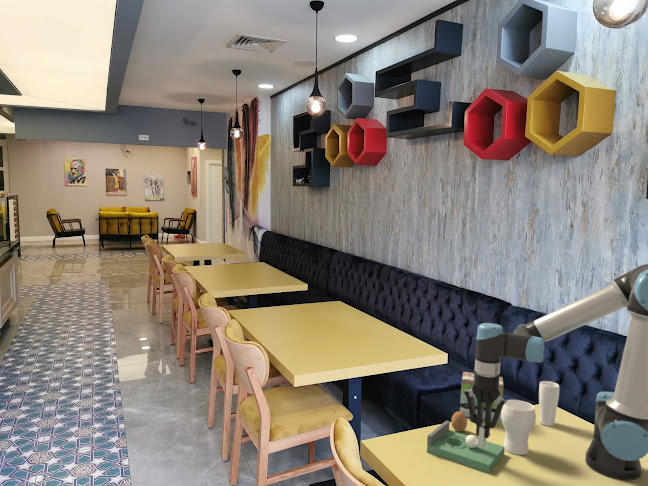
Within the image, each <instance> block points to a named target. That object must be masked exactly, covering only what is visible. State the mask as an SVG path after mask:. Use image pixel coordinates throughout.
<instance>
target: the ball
mask: <svg viewBox="0 0 648 486" xmlns="http://www.w3.org/2000/svg"><path fill="white" fill-rule="evenodd" d="M478 439H479V438H478V436H477V435H474V434H468V435H467V437H466V440H465V442H466V445H467V446H468V447H469V448H476V447H477V446H478Z"/></svg>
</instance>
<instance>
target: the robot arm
mask: <svg viewBox="0 0 648 486" xmlns="http://www.w3.org/2000/svg"><path fill="white" fill-rule="evenodd" d="M623 308H626V312H628V314H629V316H630V317H631V319H630V322H629V323H630V324H629V327H628V332H627V337H626V341H625V345H624V349H623V352H622V358H621V361H620V365H619V371H618V375H617V380H616V384H615V388H614V392H613V391H600V392H598V393H597V394H596V399H595V413H594V415H595V416H594V423H593V424H594V426H593V437H592V440H591V441H590V444H589V446H588V447H587V450H586V452H585V459H584V461H585V463H586V465H587V466H588V467H589V468H590V469H591V470H594V471H595V472H597V473H599V474H601V475H604V476H607V477H610V478H613V479H620V480H627V481H628V480H629V481H630V480H636V479H639V478H641V476H642V469H643V468H642V463H641V459H642V458H644V457H646V455H648V263H646V264H642V265H639V266H637V267H635V268H633V269H631V270H629V271H627V272H626V273H624V274H622V275H620V276H618V277H616V278H613V279H612V280H611V283H610V284H609V285H608V286H604V287H603V288H601V289H598V290H596V291H595V292H593V293H590V294H588V295H585V296H584V297H582V298H580V299H577V300H575V301H573V302H571V303H569V304H566V305H564V306H562V307H560V308H558V309H556V310H553V311H551V312H550V313H547V314H544V315H543V316H541V317H539V318H537V319H535V320H533V321H529V322H528V323H522V324H519V325H518V326H517V327H516V328H515V329H514V330H513V333H509V332H504V328H503V326H502V325H500V324H497V323H491V322H484V323H481V324H479V325H478V326H477V331H476V341H475V342H476V344H475V360H474V372H473V373H474V385H473V387H472V389H470V390H469V389H468V390H467V391H465V392H464V393H465V396H466V398H467V401H468V407H469V413H470V417H469V418H470V422H471V423H473V424H475V425H476V430H475V434H476V435H475V436H476V437H478V439H479V442H478V447H479V448H482V449H483V448H484V447H485V446H486V441H487V439H488V438H489V437H490V435H491V429H495V427H497V424H498V423H499V422H498V419H499V416H500V414H501V411H502V408H503V405H504V404H505V403H506V402H507V400H508V399H507V398H504V397H503V398H502V397H501V396H500V392H499V378H500V377H501V376H500V373H501V363H502V361H501V360H502V359H501V358H504V359H505V358H506V359H511V360H518V361H524V362H529V363H542V362H543V361H544V354H545V353H544V352H545V343H547V342H548V341H549V342H550V341H551V340H554V339H555V338H558V337H560V336H562V335H564V334H567V333H570V332H572V331H573V330H576V329H578V328H582V327H584V326H585V325H588V324H589V323H591V322H594V321H597V320H599V319H601V318H604V317H605V316H608V315H610V314H612V313H614V312H616V311H619V310H621V309H623ZM473 393H474V394H473ZM473 395H475V397H476V398H477V405H478V406H477V415H476V409H475V403H474V397H473ZM496 399H498V401H497V403H498V406H497V408H496V411H495V414H494V416H493V419H492V421H491V414H492V405H493V402H494V401H495V400H496ZM484 403H485V407H486V410H485V420H483V410H484Z"/></svg>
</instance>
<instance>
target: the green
mask: <svg viewBox="0 0 648 486" xmlns="http://www.w3.org/2000/svg"><path fill="white" fill-rule="evenodd" d="M450 424H451V421H449V420H445V421H444V422H443V423H442V424H440V425H439V426H437V427H436V428H435V429H434V430H433V431H432V432H431V433H429V434H428V435H427V440H426V441H427V442H426V443H427V444H426V453H428V454H432V455H435V456H437V457H441V458H443V459H446V460H449V461H452V462H455V463H458V464H460V465H464V466H466V467H469V468H472V469H475V470H478V471H481V472H484V473H487V474H490V472H491V471H492V470H493V468H494V467H495V466H496V465H497V464H498V462H499V461H500V460H501V459H502V458H503V456H504V455H505V447H504V445H499V444H496V443H493V442H490V441H487V440H486V446H485V447H484V448H483V449H482V448H479V447H478V446H477V447H476V448H469V447H468V446H467V445H466V442H465V440H466V437H467V436H468V435H467V434H464V433H461V432H459V431H455V430H454V431H453V430H451V429H450ZM477 439H478V442H479V438H477Z"/></svg>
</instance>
